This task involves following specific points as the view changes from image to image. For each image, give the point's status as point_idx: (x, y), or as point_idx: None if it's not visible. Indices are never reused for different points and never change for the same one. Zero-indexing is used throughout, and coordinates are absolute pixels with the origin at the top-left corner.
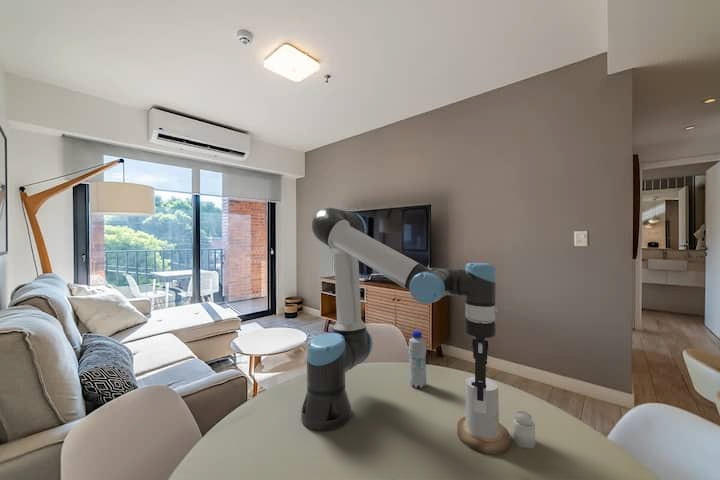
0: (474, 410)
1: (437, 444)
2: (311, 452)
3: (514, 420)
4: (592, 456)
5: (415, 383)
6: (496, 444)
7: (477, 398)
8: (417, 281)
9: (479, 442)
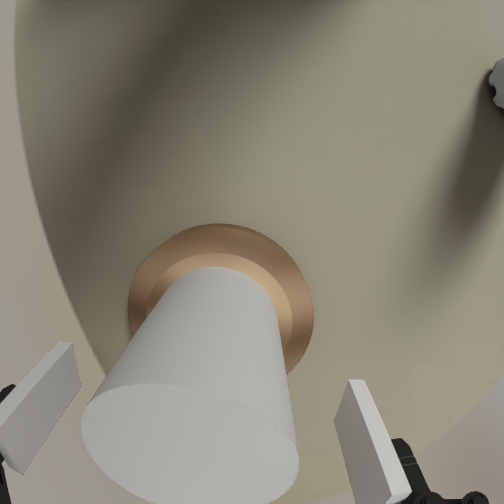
0: (58, 343)
1: (130, 152)
2: None
3: None
4: None
5: (495, 74)
6: None
7: (3, 390)
8: None
9: (135, 301)
